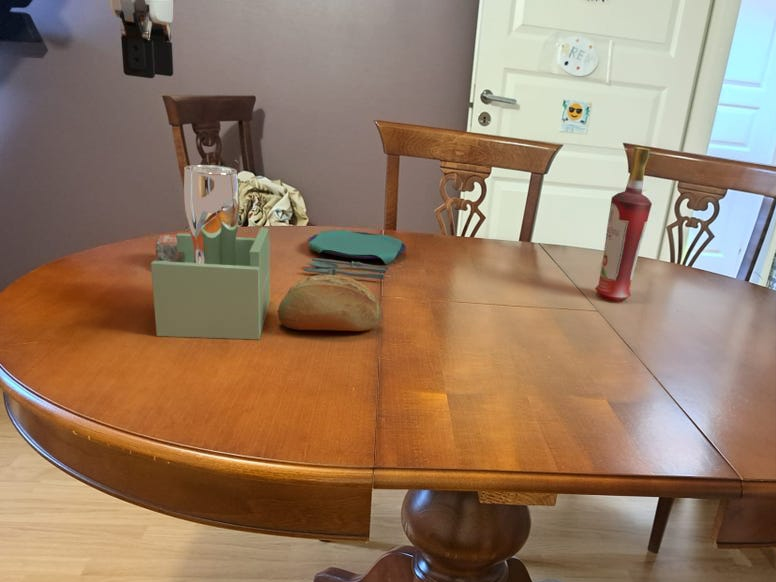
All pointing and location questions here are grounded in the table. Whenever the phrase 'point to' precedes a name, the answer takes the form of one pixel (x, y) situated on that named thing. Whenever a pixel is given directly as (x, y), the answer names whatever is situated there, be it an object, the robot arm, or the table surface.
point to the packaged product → (166, 247)
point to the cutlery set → (353, 251)
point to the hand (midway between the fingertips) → (150, 75)
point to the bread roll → (330, 305)
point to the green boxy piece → (213, 292)
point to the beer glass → (212, 212)
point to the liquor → (624, 233)
